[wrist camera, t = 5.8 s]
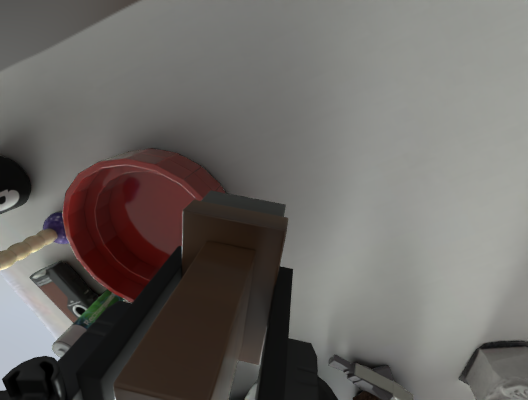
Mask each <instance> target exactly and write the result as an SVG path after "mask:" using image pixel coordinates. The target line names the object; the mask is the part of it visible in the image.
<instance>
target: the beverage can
mask: <svg viewBox="0 0 528 400" xmlns="http://www.w3.org/2000/svg"><path fill="white" fill-rule="evenodd" d="M30 192H31V184H30V180H29V178H28V176H27V174H26V173H25V171H24V170H23V169H22V168H21V167H20V166H19V165H18V164H17V163H15V162H14V161H12V160H10V159H8V158H5V157H3V156H0V214H2V213H4V212H7V211H9V210H12V209H14V208H17V207H19V206H21V205H23V204H25V203H26V202H27V200H28V198H29V195H30Z"/></svg>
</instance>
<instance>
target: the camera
mask: <svg viewBox="0 0 528 400" xmlns="http://www.w3.org/2000/svg"><path fill="white" fill-rule="evenodd" d="M30 279H31V280H32V281H33V282H34V283H35V284H36V285H37V286H38V287H39V288H40V289H41V290H42V291H43V292H44V293H45V294H46V295H47V296H48V297H49V298H50V299H51V300H52V301H53V302H54V304H55V305H56V306H57V307H58V308H59V309H60V310H61V311H62V312H63V313H64V314H65V315H66V316H67V317H68V318H69V319H70V320H71V321H72V322H73V323H74V322H75V321H76V320H77V319H78V318H79V317H80V316H81V315H82V314H83V313H84V312H85V311H86V310H87V309H88V308H89V307H90V306H91V305H92V304H93V303H94V302H95V301H96V300H97V299H98V298H99V297H100V296H99V297H97V296H98V295H97V294H95V293H93V292H92V291H91V289H90V288H89V287H88V286H87V285H86V284H85V283H84V282H83V280H82V279H81V278H80V277H79V276H78V275H77V274H76V273H75V271H74V270H73V269H72V268H71V267H70V266H69V265H68V264H67V263H63V262H62V261H59V262H57V263H55V264H52V265H50V266H48V267H46V268H43V269H41V270H39V271H37V272H35V273H34V274H32V275H31V276H30Z"/></svg>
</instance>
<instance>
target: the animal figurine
mask: <svg viewBox="0 0 528 400" xmlns="http://www.w3.org/2000/svg"><path fill="white" fill-rule="evenodd" d="M328 366H331V367H334V368H336V369H339V370H341V371H344V372H343V373H345V374H347V375H348V376H347V379H349V380H351V381H353V384H355V385H357V386H359V389H360V390H363V391H367V392H369V393H371V394H373V395H375V396H377V397H378V398H380V399H382V400H413V394H412V393H410V392H408V391H406V390H405V388H403V387H402V386H400V385H399V384H397V383H396V382H394V381H393V377H392V373H391V369H390V367H389V366H388V365H386V366H382V367H377V368H373V370H372V369H370V368H368V367H366V366H365V365H362V366H361V365H360V364H358V363H354V364H351V363H349V362H348V361H346V360H344V359H342V358H340V357H339V356H337V355H334V356H333V357H332V358H331V359H330V360H329V365H328Z"/></svg>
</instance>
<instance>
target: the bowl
mask: <svg viewBox="0 0 528 400" xmlns="http://www.w3.org/2000/svg"><path fill="white" fill-rule="evenodd" d="M210 191H216V192H221V193H225V191H224V189H223V187H222V186H221V184H220V183H219V182H218V181H217V180H216V179H214V178H213V177H212V176H211V175H210V174H209V173H208V172H207V171H206V170H205V169H204V168H203V167H201V165H199V164H197V163H195V162H193V161H191V160H189V159H188V158H186V157H184V156H182V155H180V154H178V153H174V152H169V151H165V150H160V149H155V148H149V149H142V150H134V151H128V152H126V153H123V154H120V155H117V156H114V157H111V158H108V159H105V160H103V161H100V162H98V163H96V164H94V165H92V166H91V167H89V168H87V169H86V170H84V171H82V172H80V173H79V174H78V175H77V177H76V178H75V179H74V181H73V182H72V184H71V185H70V187H69V188H68V190H67V191H66V194H65V200H64V205H63V211H62V217H63V223H64V228H65V234H66V238H67V240H68V242H69V244H70V246H71V248H72V250H73V252H74V254H75V256H76V258H77V260H78V261H79V262H80V263H81V264H82V265H83V267H84V268H85V269H86V270H87V271H88V273H89V274H90V275H91V276H92V277H93V278H94V279H95V280H96V281H98V282H99V283H100V284H102V285H103V286H104V287H105V288H107V289H108V290H109V291H111V292H112V293H113V294H115V295H118V296H120V297H122V298H124V299H126V300H128V301H130V302H132V303H133V301H134V300H135V299H136V298H137V296H138V295H139V294H140V293H141V291H142V290H143V289H144V288H145V286H146V285H147V284H148V283H149V282H150V280H151V279H152V278H153V277H154V275H155V274H156V273H157V272H158V270H159V269H160V268H161V267H162V266H163V264H164V263H165V262H166V261H167V259H168V258H169V257H170V256H171V254H172V253H173V252H174V251H175V250H176V248H177V247H178V246H182V212H183V209H185V208H186V207H187V206H188V205H189V204H190V203H191V202H192V201H193V200H198V201H201V200H202V199H203V198H204V197H205V196H206V195H207V194H208V193H209V192H210Z"/></svg>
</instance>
